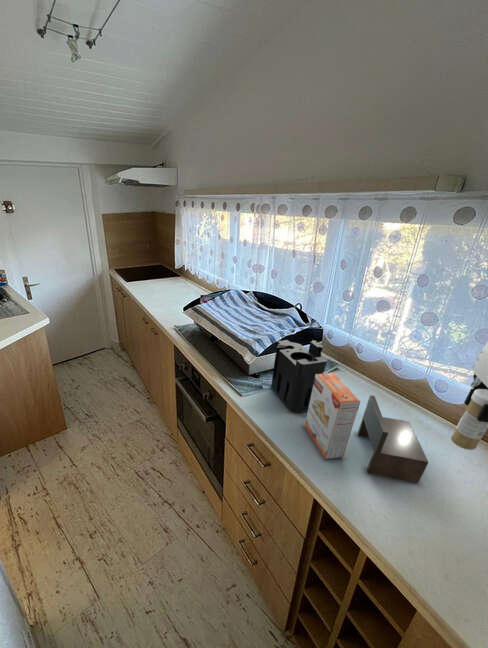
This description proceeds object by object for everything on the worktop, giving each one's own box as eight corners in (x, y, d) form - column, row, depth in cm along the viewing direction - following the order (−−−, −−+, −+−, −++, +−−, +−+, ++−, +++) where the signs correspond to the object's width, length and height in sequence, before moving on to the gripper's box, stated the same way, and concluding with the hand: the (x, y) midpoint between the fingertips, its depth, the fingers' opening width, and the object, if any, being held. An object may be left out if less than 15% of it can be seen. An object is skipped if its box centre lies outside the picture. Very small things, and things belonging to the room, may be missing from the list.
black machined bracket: (292, 415, 105) (302, 360, 94) (265, 382, 123) (271, 333, 112) (322, 410, 107) (336, 355, 97) (292, 378, 125) (300, 329, 114)
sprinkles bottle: (463, 435, 70) (489, 387, 64) (481, 450, 66) (511, 400, 60) (444, 436, 70) (469, 388, 64) (461, 451, 66) (489, 401, 60)
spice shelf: (400, 441, 94) (417, 402, 87) (417, 483, 80) (439, 441, 73) (357, 433, 97) (370, 395, 90) (367, 473, 84) (383, 431, 76)
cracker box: (302, 426, 100) (314, 372, 90) (320, 425, 100) (334, 371, 90) (323, 460, 88) (339, 401, 78) (343, 458, 88) (362, 400, 78)
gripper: (587, 359, 47) (527, 445, 56) (518, 319, 62) (479, 392, 70) (526, 353, 49) (478, 437, 58) (474, 316, 64) (441, 388, 72)
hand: (479, 412), depth 64 cm, fingers closed on sprinkles bottle, 4 cm apart
